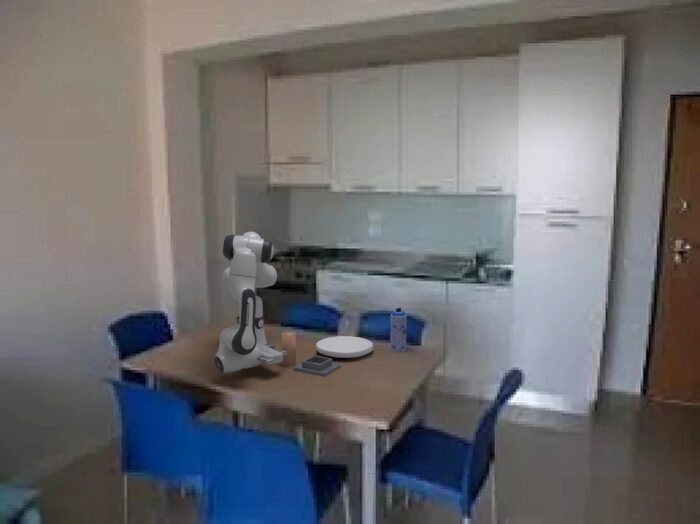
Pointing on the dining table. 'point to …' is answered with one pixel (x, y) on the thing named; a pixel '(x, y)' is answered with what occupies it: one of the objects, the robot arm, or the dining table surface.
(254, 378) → the dining table surface
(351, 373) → the dining table surface
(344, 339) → the plate
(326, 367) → the grey square tray
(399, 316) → the aerosol can
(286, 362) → the salmon pink cylinder
